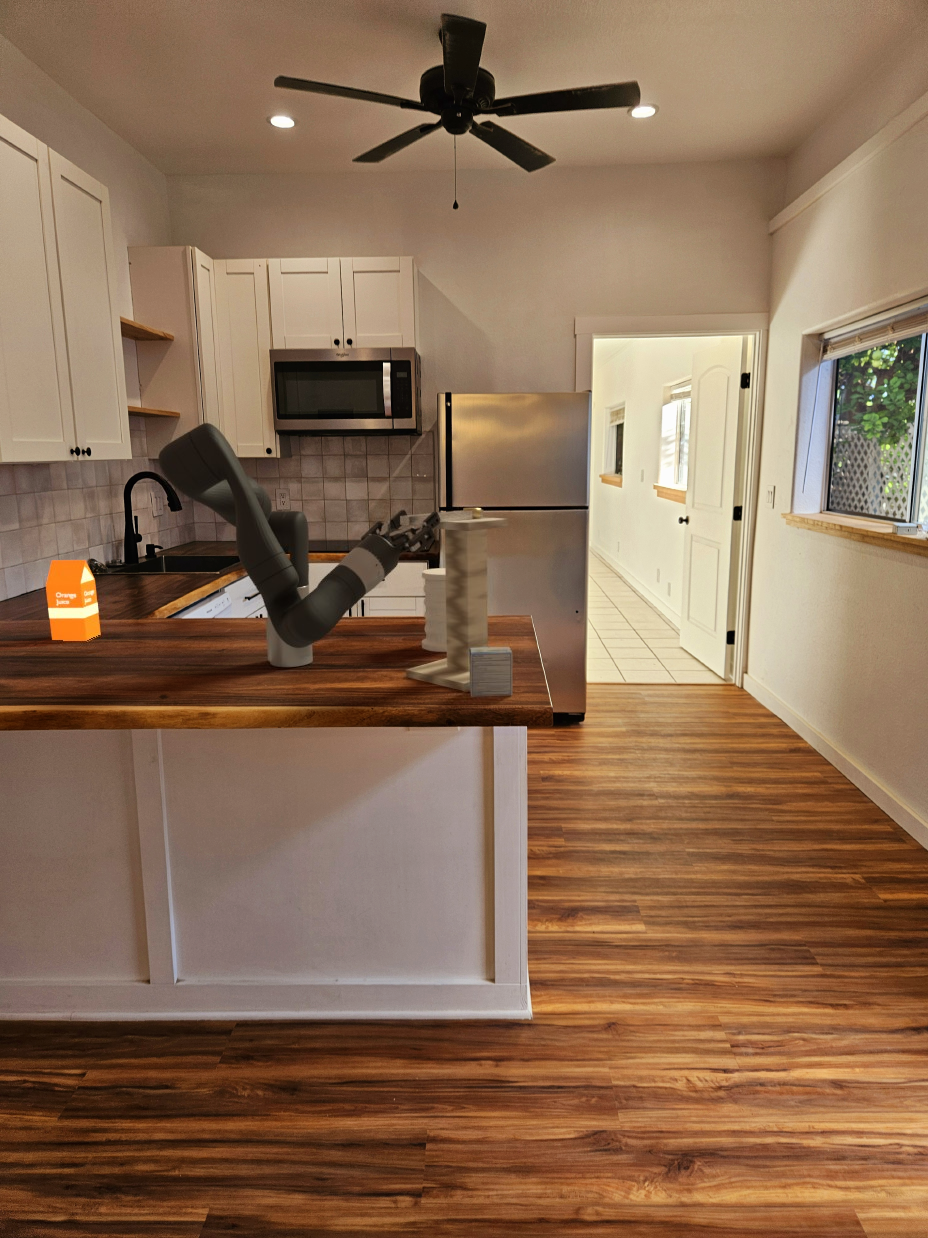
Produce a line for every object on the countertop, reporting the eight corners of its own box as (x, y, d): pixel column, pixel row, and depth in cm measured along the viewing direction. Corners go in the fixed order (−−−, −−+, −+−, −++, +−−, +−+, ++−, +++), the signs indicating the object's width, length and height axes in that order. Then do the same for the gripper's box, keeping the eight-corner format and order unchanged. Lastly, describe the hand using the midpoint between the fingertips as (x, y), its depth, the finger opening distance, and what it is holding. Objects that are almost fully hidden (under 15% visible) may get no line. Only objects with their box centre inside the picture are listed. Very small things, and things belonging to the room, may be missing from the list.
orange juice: (86, 641, 200) (78, 561, 196) (51, 641, 200) (42, 562, 196) (101, 634, 207) (93, 557, 203) (67, 635, 208) (58, 558, 204)
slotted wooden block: (398, 524, 149) (397, 513, 149) (472, 517, 164) (472, 507, 164) (411, 525, 147) (411, 514, 146) (485, 517, 162) (485, 508, 162)
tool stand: (406, 676, 165) (401, 520, 158) (455, 662, 176) (453, 515, 169) (464, 691, 154) (462, 524, 148) (512, 674, 165) (512, 518, 159)
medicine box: (510, 689, 155) (510, 646, 153) (512, 696, 151) (512, 651, 149) (469, 690, 155) (468, 647, 153) (470, 697, 150) (470, 652, 148)
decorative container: (438, 638, 199) (437, 566, 195) (479, 643, 193) (478, 569, 189) (412, 648, 189) (410, 572, 185) (454, 654, 183) (453, 576, 179)
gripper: (385, 551, 135) (441, 498, 144) (331, 545, 145) (387, 496, 153) (402, 586, 140) (456, 533, 148) (349, 578, 149) (402, 529, 157)
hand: (421, 514), depth 151 cm, fingers open, 8 cm apart
